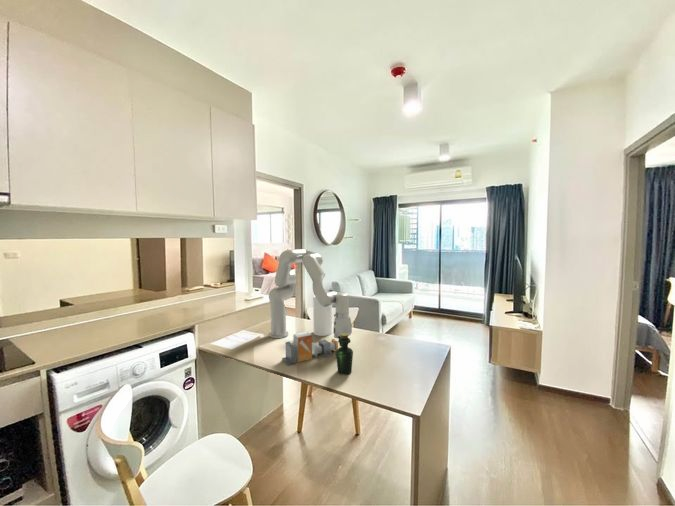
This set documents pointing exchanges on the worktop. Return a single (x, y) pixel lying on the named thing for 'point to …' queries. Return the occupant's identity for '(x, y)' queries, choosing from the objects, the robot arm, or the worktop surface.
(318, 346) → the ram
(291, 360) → the plate
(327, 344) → the guide block
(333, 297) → the robot arm
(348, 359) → the potion bottle
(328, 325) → the cylinder
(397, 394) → the worktop surface
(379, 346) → the worktop surface
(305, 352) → the small box
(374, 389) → the worktop surface
